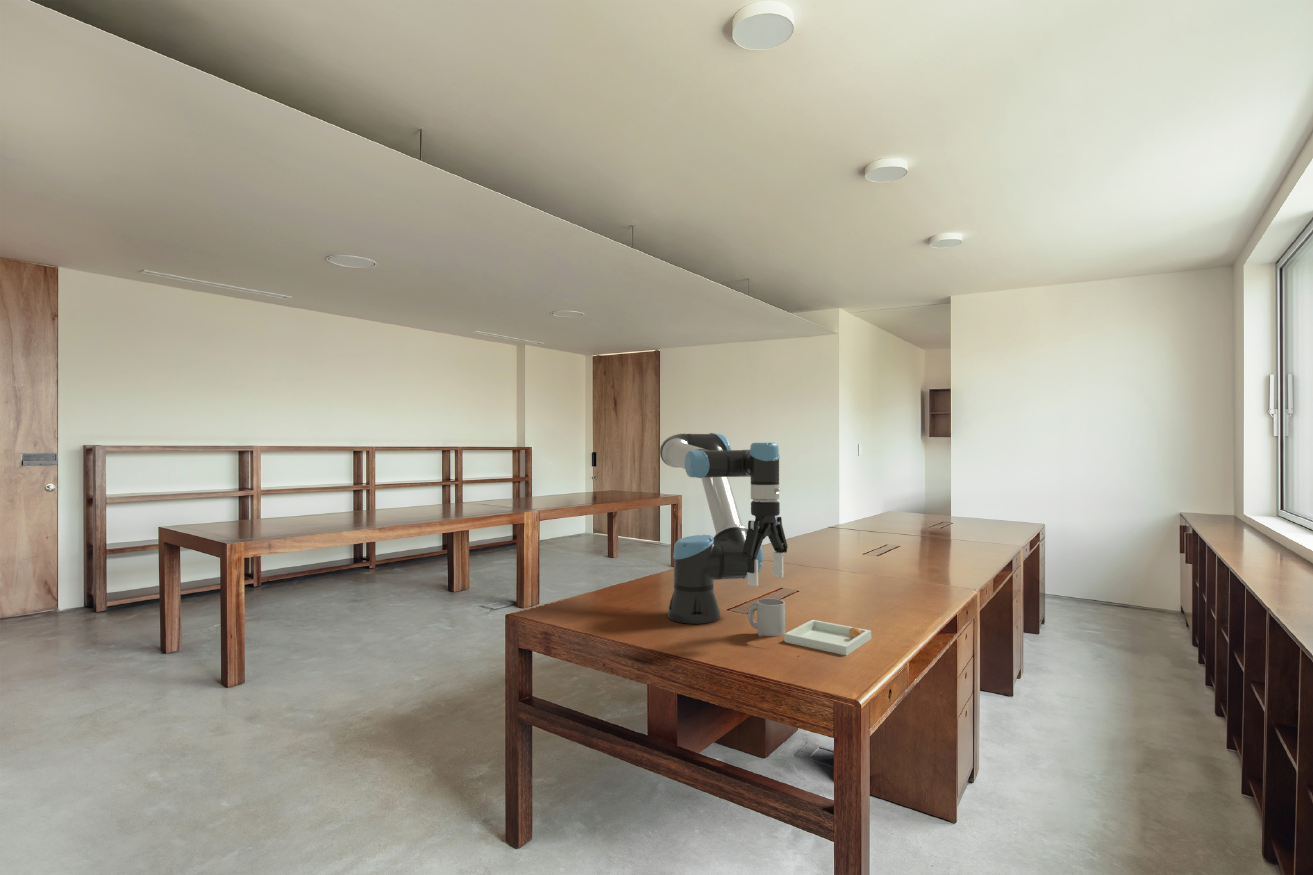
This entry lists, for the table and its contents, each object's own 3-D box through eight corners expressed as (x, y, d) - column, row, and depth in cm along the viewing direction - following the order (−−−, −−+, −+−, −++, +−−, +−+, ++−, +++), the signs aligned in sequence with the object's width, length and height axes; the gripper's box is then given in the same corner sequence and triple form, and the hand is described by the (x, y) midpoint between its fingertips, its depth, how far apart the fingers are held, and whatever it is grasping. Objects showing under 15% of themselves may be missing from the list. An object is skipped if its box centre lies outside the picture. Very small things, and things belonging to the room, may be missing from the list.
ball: (847, 639, 155) (847, 627, 155) (851, 636, 157) (851, 624, 157) (858, 641, 153) (858, 629, 153) (863, 638, 155) (863, 626, 155)
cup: (780, 641, 156) (780, 606, 157) (743, 636, 161) (743, 602, 161) (788, 634, 163) (788, 600, 163) (752, 628, 168) (752, 596, 168)
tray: (784, 645, 153) (784, 633, 153) (812, 630, 165) (812, 619, 165) (846, 659, 143) (846, 646, 143) (871, 642, 155) (871, 630, 155)
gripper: (753, 504, 150) (754, 591, 150) (799, 498, 170) (800, 574, 169) (727, 503, 155) (728, 587, 155) (775, 496, 174) (776, 571, 174)
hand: (766, 580), depth 162 cm, fingers open, 13 cm apart
